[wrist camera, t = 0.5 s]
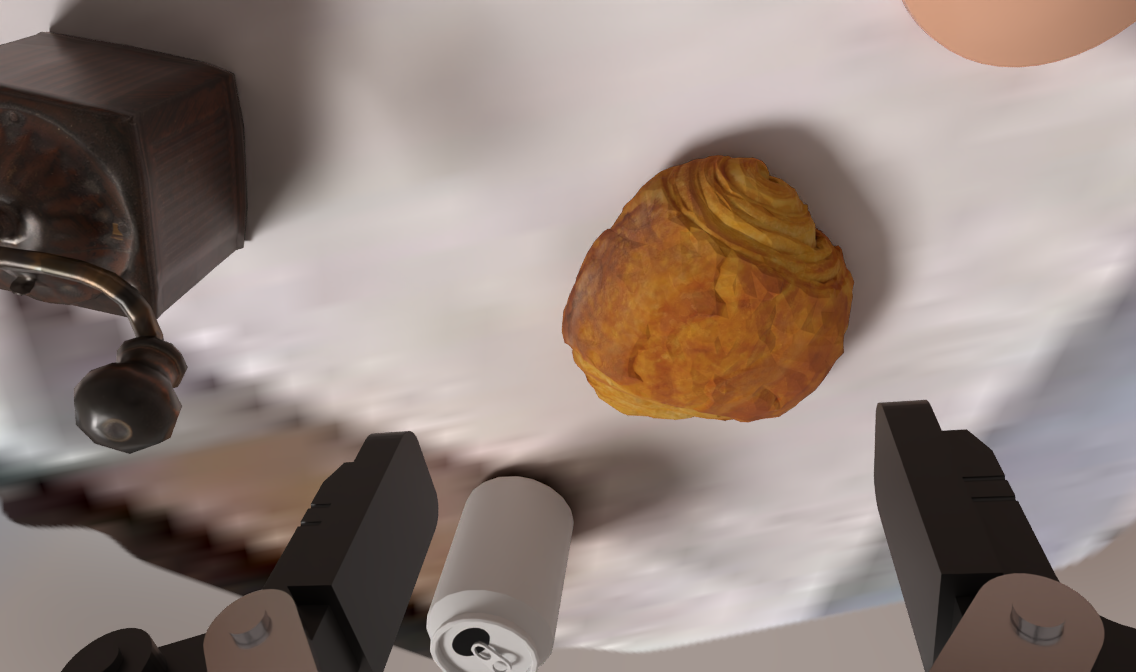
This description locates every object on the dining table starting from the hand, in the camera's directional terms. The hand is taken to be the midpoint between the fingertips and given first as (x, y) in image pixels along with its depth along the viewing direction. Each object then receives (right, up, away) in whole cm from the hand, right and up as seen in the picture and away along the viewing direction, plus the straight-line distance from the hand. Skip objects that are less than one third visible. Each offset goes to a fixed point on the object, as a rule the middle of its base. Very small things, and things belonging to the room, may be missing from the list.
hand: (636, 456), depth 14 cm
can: (-4, -10, +40) cm, 42 cm away
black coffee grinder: (-22, +12, +30) cm, 39 cm away
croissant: (+7, +5, +30) cm, 31 cm away
